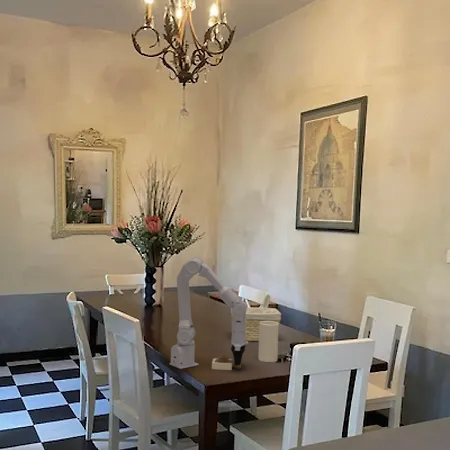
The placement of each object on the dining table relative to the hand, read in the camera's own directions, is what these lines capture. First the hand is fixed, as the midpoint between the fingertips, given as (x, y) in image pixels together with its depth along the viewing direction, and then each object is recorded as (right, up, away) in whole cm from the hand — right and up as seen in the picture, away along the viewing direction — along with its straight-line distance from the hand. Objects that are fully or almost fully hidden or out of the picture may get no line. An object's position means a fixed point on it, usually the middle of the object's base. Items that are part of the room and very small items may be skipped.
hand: (237, 364), depth 217 cm
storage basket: (+10, -1, +52) cm, 53 cm away
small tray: (-6, -1, 0) cm, 6 cm away
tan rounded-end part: (-3, -1, 0) cm, 4 cm away
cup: (+13, -2, +14) cm, 19 cm away
